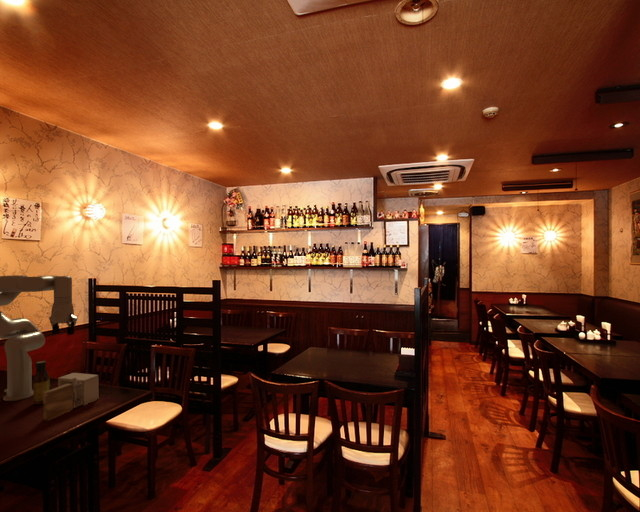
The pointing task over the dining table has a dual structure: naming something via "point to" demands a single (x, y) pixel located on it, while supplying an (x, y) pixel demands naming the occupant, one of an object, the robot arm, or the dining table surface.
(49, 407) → the door
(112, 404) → the dining table surface
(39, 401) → the sauce bottle
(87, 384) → the white box
